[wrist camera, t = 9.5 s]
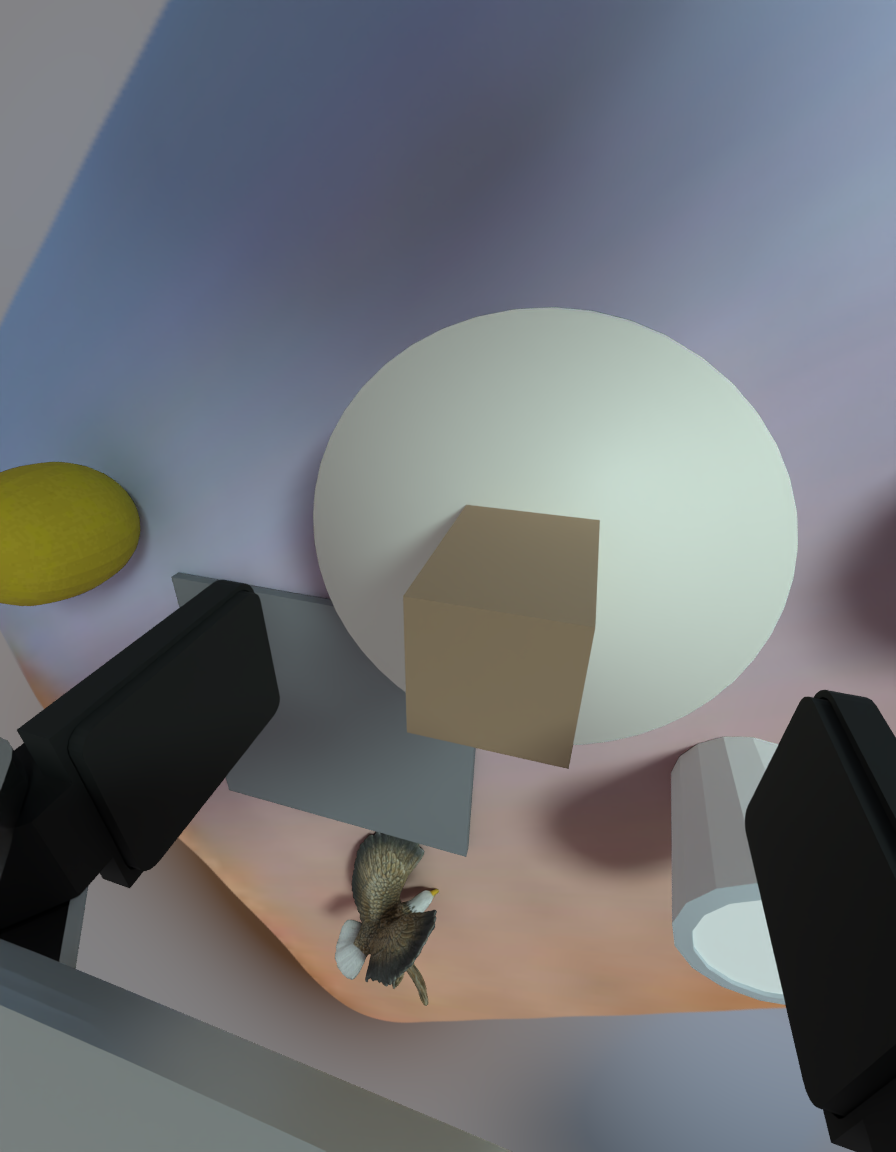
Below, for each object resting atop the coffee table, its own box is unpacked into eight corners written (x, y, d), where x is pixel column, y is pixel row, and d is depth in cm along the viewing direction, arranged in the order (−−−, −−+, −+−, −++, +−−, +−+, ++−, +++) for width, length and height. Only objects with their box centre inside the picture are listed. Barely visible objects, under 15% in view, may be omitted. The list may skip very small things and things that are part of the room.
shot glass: (806, 848, 24) (872, 1033, 18) (647, 819, 25) (659, 978, 19) (851, 738, 20) (952, 920, 14) (667, 714, 22) (688, 866, 16)
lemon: (142, 432, 23) (-56, 490, 16) (197, 545, 25) (43, 637, 18) (59, 453, 25) (-150, 513, 18) (116, 556, 27) (-50, 644, 20)
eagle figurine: (474, 953, 34) (473, 902, 28) (386, 1050, 30) (365, 1015, 24) (403, 861, 38) (390, 801, 32) (320, 937, 35) (289, 885, 29)
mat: (178, 572, 26) (171, 576, 26) (484, 626, 23) (481, 633, 22) (233, 784, 34) (229, 790, 33) (468, 849, 30) (466, 856, 30)
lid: (302, 300, 13) (120, 302, 8) (881, 314, 10) (1128, 330, 5) (342, 686, 20) (253, 817, 15) (709, 764, 17) (752, 960, 12)
